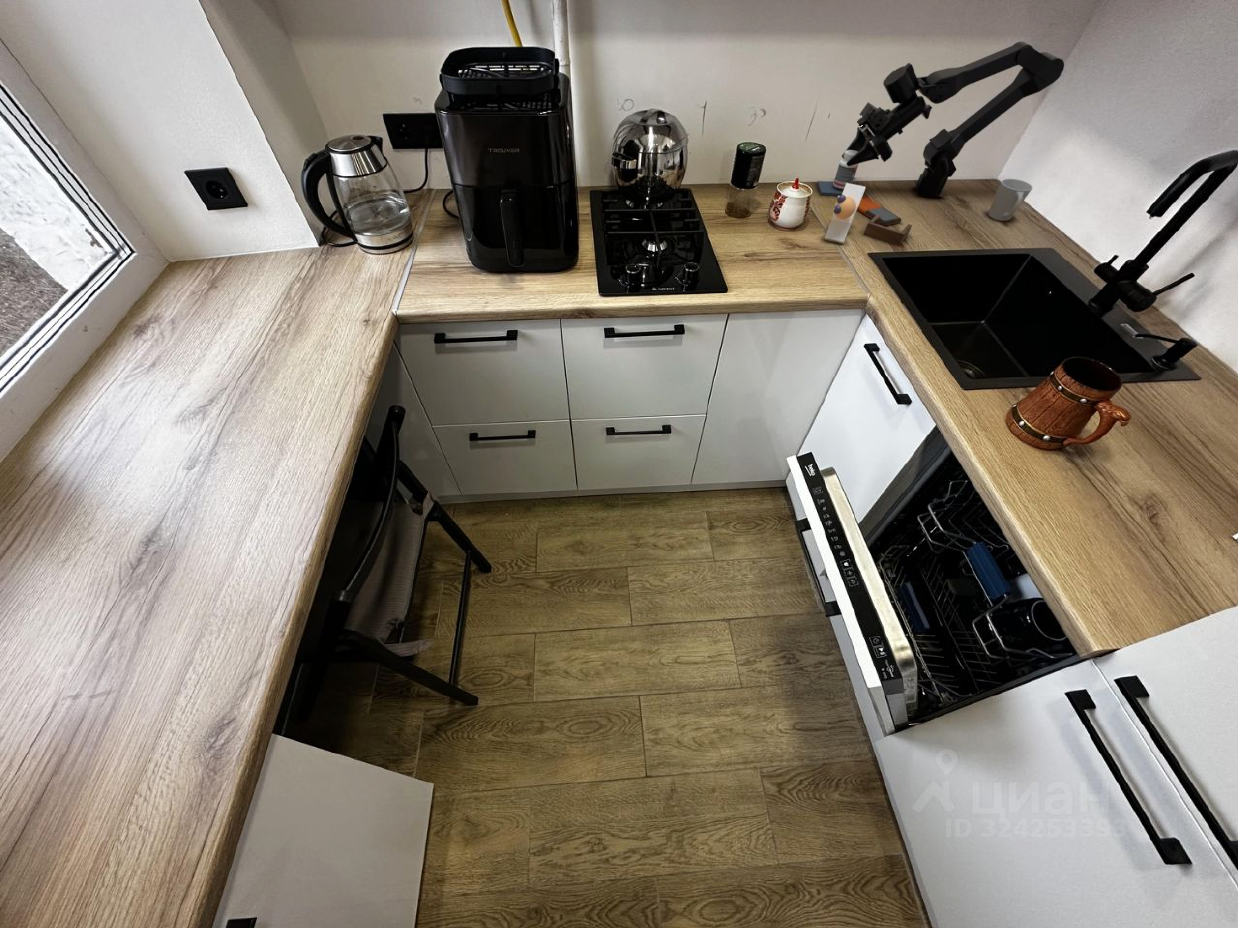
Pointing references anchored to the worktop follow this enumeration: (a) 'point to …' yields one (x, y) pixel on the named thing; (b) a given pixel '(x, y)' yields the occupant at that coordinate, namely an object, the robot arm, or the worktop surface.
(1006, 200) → the cup
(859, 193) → the white dotted panel
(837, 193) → the seat mat
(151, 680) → the worktop surface
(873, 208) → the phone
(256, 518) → the worktop surface
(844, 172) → the pill bottle
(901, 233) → the brown wooden tray
